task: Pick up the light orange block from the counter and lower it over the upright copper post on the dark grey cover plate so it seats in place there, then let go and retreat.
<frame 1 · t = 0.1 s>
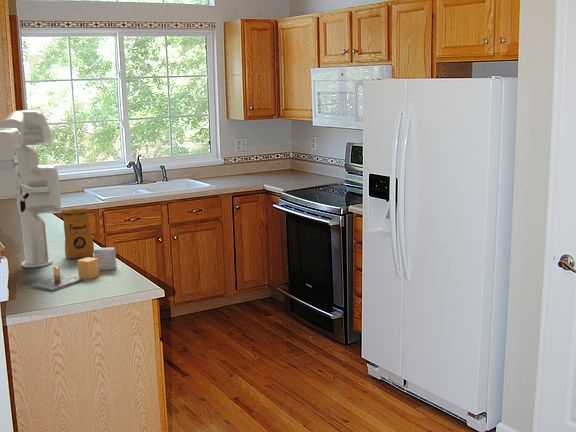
hand: (8, 212, 252), 31 cm above the counter, tool pointing down, fingers open, 9 cm apart
coffee package: (80, 257, 313), on the counter
light orange block: (89, 276, 281), on the counter
medicine box: (106, 269, 292), on the counter
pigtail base: (57, 284, 271), on the counter
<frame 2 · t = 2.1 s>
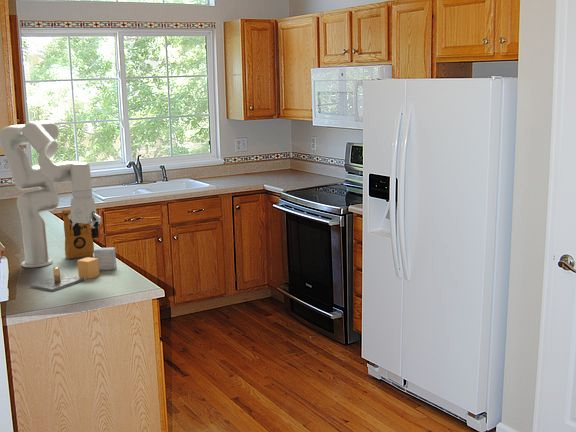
hand: (86, 236, 278), 16 cm above the counter, tool pointing down, fingers open, 9 cm apart
nothing on the counter moved.
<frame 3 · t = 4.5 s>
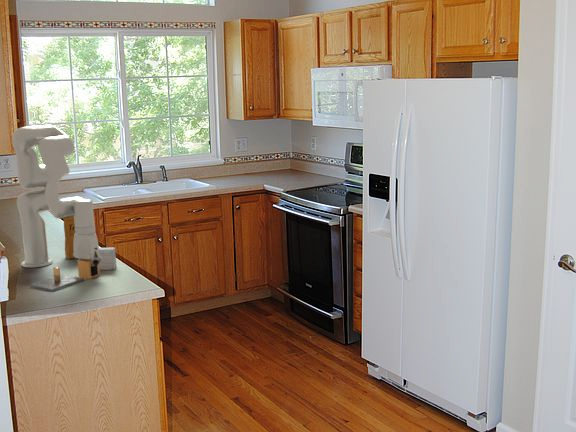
hand: (88, 273, 281), 1 cm above the counter, tool pointing down, fingers closed on light orange block, 5 cm apart
light orange block: (89, 276, 281), on the counter, touching gripper
everything else where it was.
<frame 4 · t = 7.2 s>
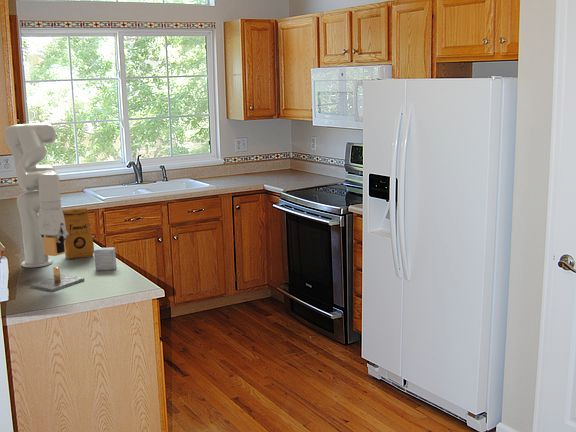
hand: (55, 251, 268), 13 cm above the counter, tool pointing down, fingers closed on light orange block, 5 cm apart
light orange block: (55, 253, 269), point 12 cm above the counter, touching gripper
everything else where it was.
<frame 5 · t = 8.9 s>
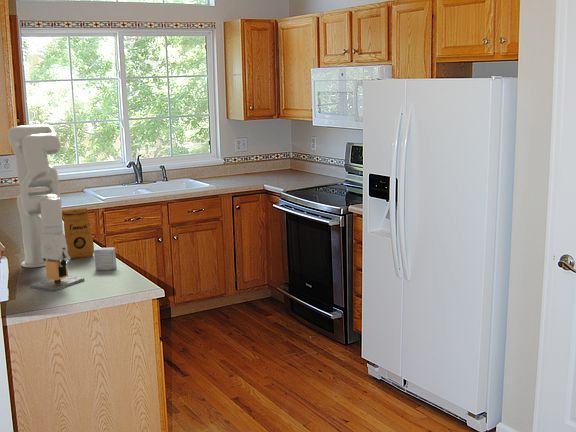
hand: (57, 274, 271), 4 cm above the counter, tool pointing down, fingers closed on light orange block, 5 cm apart
light orange block: (57, 277, 271), point 3 cm above the counter, touching gripper
everything else where it was.
when the fingers open (3 cm above the counter, at t = 10.0 s): light orange block drops 1 cm, resting on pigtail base.
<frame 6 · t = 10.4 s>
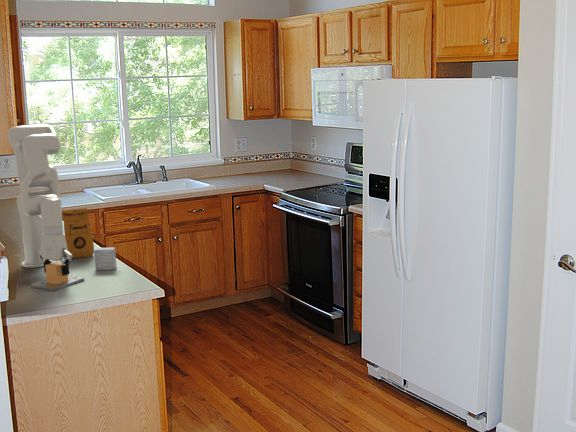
hand: (56, 273, 271), 4 cm above the counter, tool pointing down, fingers open, 9 cm apart
light orange block: (57, 281, 271), point 1 cm above the counter, touching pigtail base
everything else where it was.
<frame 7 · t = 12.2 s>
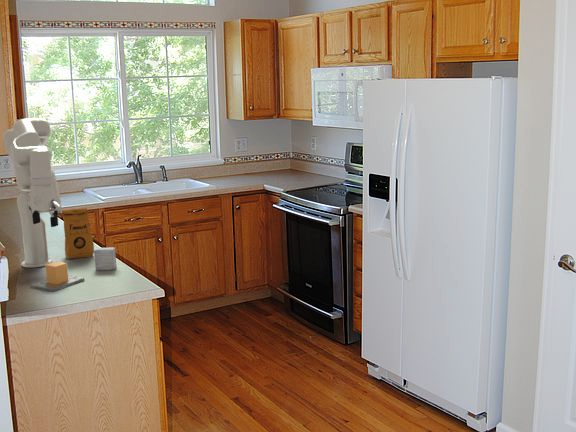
hand: (45, 224, 272), 23 cm above the counter, tool pointing down, fingers open, 9 cm apart
nothing on the counter moved.
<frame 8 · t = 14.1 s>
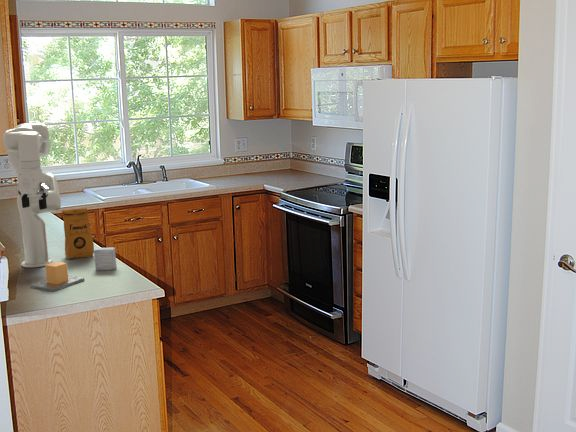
hand: (34, 208, 276), 28 cm above the counter, tool pointing down, fingers open, 9 cm apart
nothing on the counter moved.
at the end: light orange block 0.0 cm off-centre on the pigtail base, point 1.0 cm above the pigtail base's base; light orange block tilted 0°; the gripper is holding nothing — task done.
